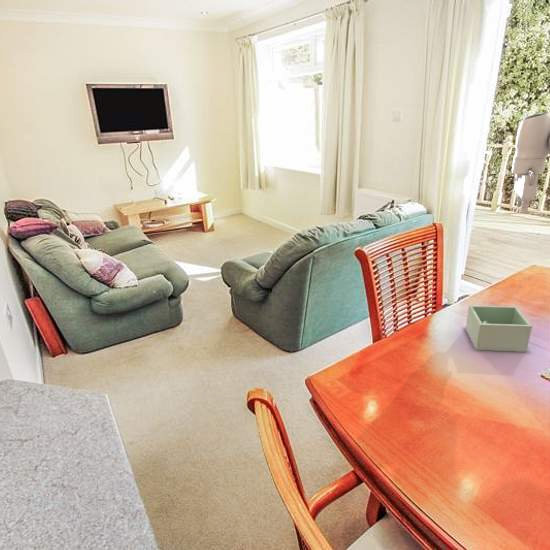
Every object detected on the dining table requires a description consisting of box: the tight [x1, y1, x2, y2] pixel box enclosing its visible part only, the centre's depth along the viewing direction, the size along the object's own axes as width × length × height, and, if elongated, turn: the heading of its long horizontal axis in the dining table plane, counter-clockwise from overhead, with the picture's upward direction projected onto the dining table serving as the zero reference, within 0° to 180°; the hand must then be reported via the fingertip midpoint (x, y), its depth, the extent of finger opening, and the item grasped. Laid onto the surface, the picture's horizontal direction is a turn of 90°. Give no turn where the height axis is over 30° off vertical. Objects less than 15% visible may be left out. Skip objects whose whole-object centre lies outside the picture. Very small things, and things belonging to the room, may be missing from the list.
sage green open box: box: [465, 304, 533, 353], centre depth 114 cm, size 14×12×9 cm
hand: (521, 209), depth 127 cm, fingers open, 8 cm apart
